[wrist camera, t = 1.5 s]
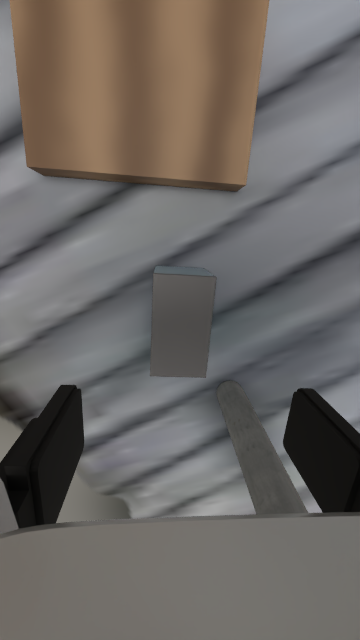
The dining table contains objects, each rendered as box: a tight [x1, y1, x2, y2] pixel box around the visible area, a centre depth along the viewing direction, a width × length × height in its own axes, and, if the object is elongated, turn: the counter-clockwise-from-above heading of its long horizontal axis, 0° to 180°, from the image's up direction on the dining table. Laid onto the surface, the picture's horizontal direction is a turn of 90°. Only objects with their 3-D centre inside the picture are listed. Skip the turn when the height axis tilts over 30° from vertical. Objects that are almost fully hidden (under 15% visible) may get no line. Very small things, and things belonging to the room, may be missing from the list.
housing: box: [150, 266, 216, 378], centre depth 24 cm, size 5×9×7 cm, turn 176°
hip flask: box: [216, 381, 308, 514], centre depth 24 cm, size 16×4×20 cm, turn 20°
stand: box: [10, 0, 269, 191], centre depth 21 cm, size 18×12×3 cm, turn 86°
